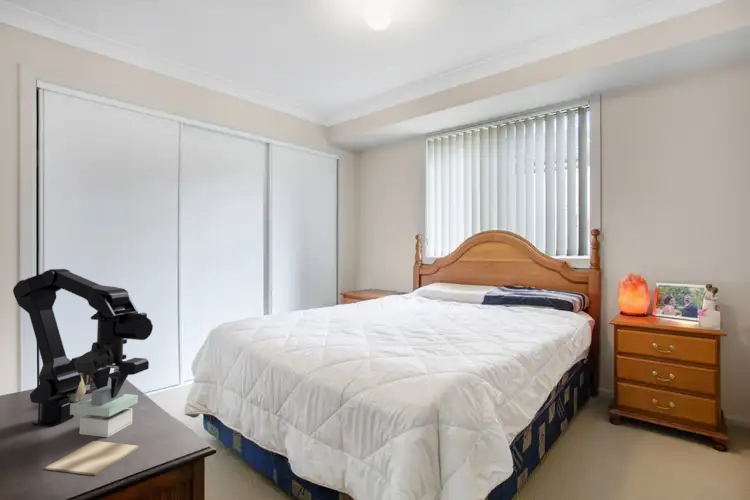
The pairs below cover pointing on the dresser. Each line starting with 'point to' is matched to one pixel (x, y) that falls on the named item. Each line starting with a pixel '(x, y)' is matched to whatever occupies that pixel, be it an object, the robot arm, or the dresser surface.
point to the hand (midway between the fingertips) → (108, 397)
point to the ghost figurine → (78, 392)
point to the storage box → (105, 423)
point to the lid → (106, 402)
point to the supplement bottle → (88, 383)
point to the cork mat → (92, 458)
